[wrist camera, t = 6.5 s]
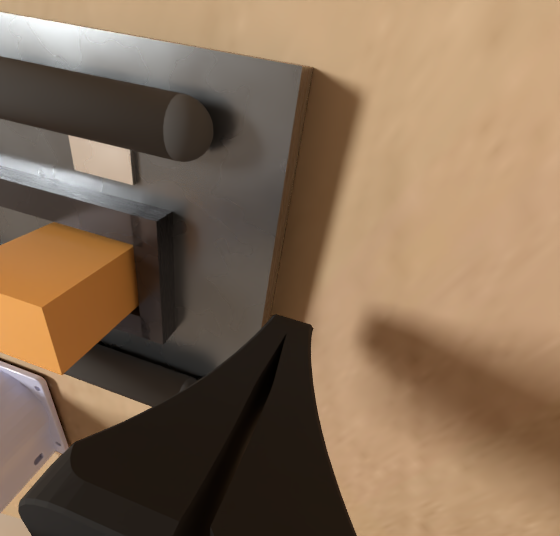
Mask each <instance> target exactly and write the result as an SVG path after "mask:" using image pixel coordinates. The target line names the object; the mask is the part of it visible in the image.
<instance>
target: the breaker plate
mask: <svg viewBox="0 0 560 536" xmlns="http://www.w3.org/2000/svg"><path fill="white" fill-rule="evenodd" d="M0 56H2V57H7V58H12V59H16V60H21V61H26V62H31V63H36V64H41V65H46V66H51V67H56V68H61V69H65V70H70V71H75V72H80V73H85V74H90V75H95V76H100V77H105V78H110V79H114V80H119V81H124V82H129V83H134V84H139V85H144V86H149V87H154V88H159V89H163V90H168V91H173V92H178V93H183V94H186V95H189V96H191V97H193V98H195V99H196V100H198V101H199V102H200V103H201V104H202V105H203V106H204V107H205V108H206V110H207V111H208V113H209V115H210V117H211V120H212V123H213V139H212V142H211V145H210V147H209V149H208V150H207V151H206V152H205V154H204V155H202V156H201V157H199V158H198V159H196V160H193V161H188V162H180V161H174V160H170V159H166V158H162V157H158V156H154V155H149V154H145V153H141V152H137V151H133V150H129V149H124V148H120V147H116V146H112V145H108V144H104V143H99V142H95V141H91V140H87V139H83V138H79V137H75V136H70V135H66V134H62V133H58V132H54V131H50V130H45V129H41V128H37V127H33V126H29V125H25V124H20V123H16V122H12V121H8V120H4V119H0V245H2V244H4V243H7V242H9V241H11V240H14V239H16V238H18V237H21V236H23V235H25V234H27V233H30V232H32V231H34V230H37V229H39V228H41V227H44V226H46V225H48V224H50V223H53V222H56V223H59V224H63V225H66V226H69V227H73V228H76V229H80V230H83V231H87V232H90V233H94V234H97V235H100V236H104V237H107V238H111V239H114V240H118V241H121V242H124V243H128V244H131V245H133V249H134V259H135V269H136V279H137V289H138V299H139V305H138V306H137V307H136V308H135V309H134V310H133V311H132V312H131V313H130V314H129V315H127V316H126V317H125V318H124V319H123V320H122V321H121V322H120V323H119V324H118V325H116V326H115V327H114V328H113V329H112V330H111V331H110V332H109V333H108V334H107V335H106V336H104V337H103V338H102V339H101V340H100V341H99V342H98V343H97V344H99V345H102V346H105V347H108V348H111V349H114V350H116V351H119V352H122V353H125V354H128V355H131V356H134V357H136V358H139V359H142V360H145V361H148V362H151V363H153V364H156V365H159V366H162V367H165V368H168V369H171V370H173V371H176V372H179V373H182V374H185V375H188V376H190V377H193V378H195V379H196V380H197V381H198V380H199V379H201V378H202V377H204V376H205V375H207V374H208V373H210V372H211V371H212V370H214V369H215V368H216V367H218V366H219V365H220V364H222V363H223V362H224V361H225V360H227V359H228V358H229V357H230V356H232V355H233V354H234V353H235V352H237V351H238V350H239V349H240V348H241V347H242V346H243V345H244V344H246V343H247V342H248V341H249V340H250V339H251V338H252V337H253V336H254V335H255V334H256V333H257V332H258V331H259V330H260V329H261V328H262V327H263V326H264V325H265V324H266V323H267V322H268V321H269V320H270V315H271V310H272V304H273V298H274V292H275V286H276V281H277V275H278V269H279V263H280V258H281V252H282V246H283V240H284V235H285V229H286V223H287V217H288V211H289V206H290V200H291V194H292V188H293V183H294V177H295V171H296V165H297V160H298V154H299V148H300V142H301V136H302V131H303V125H304V119H305V113H306V108H307V102H308V96H309V90H310V85H311V79H312V73H313V67H309V66H303V65H297V64H292V63H286V62H281V61H275V60H269V59H264V58H258V57H253V56H247V55H241V54H236V53H230V52H224V51H219V50H213V49H208V48H202V47H196V46H191V45H185V44H180V43H174V42H168V41H163V40H157V39H151V38H146V37H140V36H135V35H129V34H123V33H118V32H112V31H107V30H101V29H95V28H90V27H84V26H78V25H73V24H67V23H62V22H56V21H50V20H45V19H39V18H34V17H28V16H22V15H17V14H11V13H6V12H0Z"/></svg>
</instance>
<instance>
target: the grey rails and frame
mask: <svg viewBox="0 0 560 536" xmlns="http://www.w3.org/2000/svg"><path fill="white" fill-rule="evenodd" d="M0 119H4V120H8V121H12V122H16V123H20V124H25V125H29V126H33V127H37V128H41V129H45V130H50V131H54V132H58V133H62V134H66V135H70V136H75V137H79V138H83V139H87V140H91V141H95V142H99V143H104V144H108V145H112V146H116V147H120V148H124V149H129V150H133V151H137V152H141V153H145V154H149V155H154V156H158V157H162V158H166V159H170V160H174V161H180V162H188V161H193V160H196V159H198V158H199V157H201V156H202V155H204V154H205V152H206V151H207V150H208V149H209V147H210V145H211V142H212V139H213V123H212V120H211V117H210V115H209V113H208V111H207V110H206V108H205V107H204V106H203V105H202V104H201V103H200V102H199V101H198V100H196V99H195V98H193V97H191V96H189V95H186V94H183V93H178V92H173V91H168V90H163V89H159V88H154V87H149V86H144V85H139V84H134V83H129V82H124V81H119V80H114V79H110V78H105V77H100V76H95V75H90V74H85V73H80V72H75V71H70V70H65V69H61V68H56V67H51V66H46V65H41V64H36V63H31V62H26V61H21V60H16V59H12V58H7V57H2V56H0ZM64 374H66V375H69V376H71V377H74V378H77V379H79V380H82V381H85V382H87V383H90V384H93V385H95V386H98V387H101V388H103V389H106V390H109V391H111V392H114V393H117V394H119V395H122V396H125V397H127V398H130V399H133V400H135V401H138V402H141V403H143V404H146V405H149V406H151V407H154V406H156V405H158V404H160V403H161V402H163V401H165V400H167V399H169V398H170V397H172V396H174V395H175V394H177V393H179V392H180V391H182V390H184V389H185V388H187V387H189V386H190V385H192V384H193V383H195V382H196V381H197V380H196V379H195V378H193V377H190V376H188V375H185V374H182V373H179V372H176V371H173V370H171V369H168V368H165V367H162V366H159V365H156V364H153V363H151V362H148V361H145V360H142V359H139V358H136V357H134V356H131V355H128V354H125V353H122V352H119V351H116V350H114V349H111V348H108V347H105V346H102V345H99V344H96V345H95V346H93V347H92V348H91V349H90V350H89V351H88V352H87V353H86V354H85V355H84V356H83V357H81V358H80V359H79V360H78V361H77V362H76V363H75V364H74V365H73V366H72V367H71V368H69V369H68V370H67V371H66V372H65V373H64Z"/></svg>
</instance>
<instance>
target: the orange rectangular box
mask: <svg viewBox="0 0 560 536" xmlns="http://www.w3.org/2000/svg"><path fill="white" fill-rule="evenodd" d="M138 305H139V299H138V289H137V279H136V269H135V259H134V249H133V245H131V244H128V243H124V242H121V241H118V240H114V239H111V238H107V237H104V236H100V235H97V234H94V233H90V232H87V231H83V230H80V229H76V228H73V227H69V226H66V225H63V224H59V223H56V222H53V223H50V224H48V225H46V226H44V227H41V228H39V229H37V230H34V231H32V232H30V233H27V234H25V235H23V236H21V237H18V238H16V239H14V240H11V241H9V242H7V243H4V244H2V245H0V352H2V353H4V354H7V355H10V356H12V357H15V358H17V359H20V360H23V361H25V362H28V363H31V364H33V365H36V366H39V367H41V368H44V369H47V370H49V371H52V372H55V373H57V374H60V375H63V374H64V373H65V372H66V371H67V370H68V369H69V368H71V367H72V366H73V365H74V364H75V363H76V362H77V361H78V360H79V359H80V358H81V357H83V356H84V355H85V354H86V353H87V352H88V351H89V350H90V349H91V348H92V347H93V346H95V345H96V344H97V343H98V342H99V341H100V340H101V339H102V338H103V337H104V336H106V335H107V334H108V333H109V332H110V331H111V330H112V329H113V328H114V327H115V326H116V325H118V324H119V323H120V322H121V321H122V320H123V319H124V318H125V317H126V316H127V315H129V314H130V313H131V312H132V311H133V310H134V309H135V308H136V307H137V306H138Z"/></svg>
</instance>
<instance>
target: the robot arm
mask: <svg viewBox="0 0 560 536" xmlns="http://www.w3.org/2000/svg"><path fill="white" fill-rule="evenodd" d="M312 331H313V328H312V326H311V325H310V324H306V323H303V322H300V321H296V320H293V319H290V318H287V317H283V316H280V315H277V314H276V315H273V316H272V317H271V318H270V320H269V321H268V322H267V323H266V324H265V325H264V326H263V327H262V328H261V329H260V330H259V331H258V332H257V333H256V334H255V335H254V336H253V337H252V338H251V339H250V340H249V341H248V342H247V343H246V344H244V345H243V346H242V347H241V348H240V349H239V350H238V351H237V352H235V353H234V354H233V355H232V356H230V357H229V358H228V359H227V360H225V361H224V362H223V363H222V364H220V365H219V366H218V367H216V368H215V369H214V370H212V371H211V372H210V373H208V374H207V375H205V376H204V377H202V378H201V379H199V380H198V381H196V382H195V383H193V384H192V385H190V386H189V387H187V388H185V389H184V390H182V391H180V392H179V393H177V394H175V395H174V396H172V397H170V398H169V399H167V400H165V401H163V402H161V403H160V404H158V405H156V406H154V407H152V408H150V409H148V410H146V411H144V412H142V413H140V414H138V415H136V416H134V417H132V418H130V419H128V420H126V421H124V422H121V423H119V424H117V425H115V426H112V427H110V428H108V429H105V430H103V431H100V432H98V433H96V434H93V435H91V436H89V437H86V438H84V439H81V440H79V441H76V442H74V443H73V444H72V445H71V446H70V447H68V444H67V441H66V438H65V435H64V432H63V429H62V426H61V423H60V420H59V417H58V415H57V412H56V409H55V406H54V403H53V400H52V397H51V394H50V391H49V388H48V386H47V383H46V381H45V379H44V378H43V377H41V376H39V375H36V374H34V373H31V372H28V371H26V370H23V369H21V368H18V367H15V366H13V365H10V364H8V363H5V362H2V361H0V513H1V512H2V511H3V510H4V509H5V507H6V506H7V505H8V504H9V503H10V502H11V501H12V500H13V498H14V497H15V496H16V495H17V494H18V493H19V492H20V491H21V490H22V488H23V487H24V486H25V485H26V484H27V483H28V482H29V481H30V479H31V478H32V477H33V476H34V475H35V474H36V473H37V472H38V470H39V469H40V468H41V467H42V466H43V465H44V464H45V463H46V461H47V460H48V459H49V458H50V457H51V456H52V455H53V454H54V452H55V451H57V452H60V453H62V455H61V456H60V457H59V458H58V459H57V460H56V461H55V462H54V463H53V464H52V465H51V466H50V467H49V468H48V469H47V470H46V472H45V473H44V474H43V475H42V476H41V477H40V478H39V480H38V481H37V482H36V483H35V484H34V485H33V486H32V488H31V489H30V490H29V491H28V492H27V493H26V495H25V496H24V497H23V498H22V499H21V500H20V503H19V510H18V511H19V514H20V516H21V519H22V520H23V522H24V524H25V525H26V527H27V528H28V530H29V532H30V533H31V535H32V536H357V535H356V533H355V530H354V528H353V525H352V522H351V520H350V517H349V515H348V512H347V509H346V507H345V504H344V501H343V498H342V496H341V493H340V490H339V487H338V484H337V481H336V478H335V475H334V471H333V468H332V465H331V462H330V459H329V456H328V452H327V449H326V445H325V441H324V437H323V433H322V429H321V425H320V420H319V416H318V411H317V405H316V400H315V393H314V386H313V378H312V367H311V337H312Z"/></svg>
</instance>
